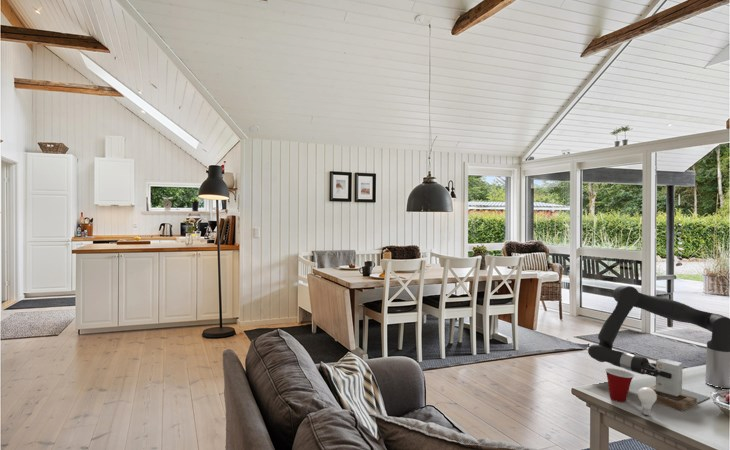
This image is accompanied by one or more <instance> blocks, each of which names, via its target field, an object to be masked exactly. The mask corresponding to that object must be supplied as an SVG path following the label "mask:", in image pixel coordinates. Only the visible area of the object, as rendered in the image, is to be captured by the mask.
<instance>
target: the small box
mask: <svg viewBox="0 0 730 450" xmlns="http://www.w3.org/2000/svg"><path fill="white" fill-rule="evenodd" d="M655 363H656V369H657V370H660V371H664V372H667V373H671V379H668V378H665V377H658V376H657V377H655V385H656V391H660V392H663V393H667V394H670V395H674V396H678V395H680V394H681V393H682V389H683V370H684V369H683V367H684V366H683V362H680V361H675V360H671V359H667V358H663V357H661V358H659V359H657V360H656V361H655Z"/></svg>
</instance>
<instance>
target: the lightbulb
mask: <svg viewBox="0 0 730 450" xmlns="http://www.w3.org/2000/svg"><path fill="white" fill-rule="evenodd" d="M657 395H658V394H657ZM657 395H656V393H655V391H654V390H653V389H651V388H650V387H649V386H648V387H647V386H642V387H640V388H639V389H638V391H637V398H638V399H639V401H640V403H641V406H642V414H643V413H644V414H646V415H649V416H651V413H652V411H651V409H652V408H653V405H654V404H655V403H656V400H657ZM644 414H643V415H644ZM646 415H645V416H646Z"/></svg>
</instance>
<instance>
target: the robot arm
mask: <svg viewBox="0 0 730 450" xmlns="http://www.w3.org/2000/svg"><path fill="white" fill-rule="evenodd" d="M612 297H613V299H614V300H615V301H616V306H615V308H614V309H613V311H612V312H611V314H610V315H609V316H608V317H607V319H606V320H605V321H604V323H603V325H601V326H602V327H601V329H600V331H599V333H598V335H597V339H598V340H599V343H598V344H591V345H590V346H588V349H587V353H588V355H589V356H590V357H591V358H592V359H594V360H595V361H596V362H598V363H605V362H606V363H608V364H610V365H613V366H615V367H619V368H621V369H625V371H626V370H627V371H628V372H629V371H630V372H633V373H636V374H640V375H647V376H651V377H654V378H656V377H657V376H658V377H665V378H668V379H671V373H667V372H664V371H660V370H657V369H656V362H651V363H650V362H649V359H648V358H647V357H644V356H640V355H637V354H632V353H628V352H624V351H621V350H615V349H613V347H614V343H615V340H616V338H617V336H618V334H619V331H620V329H621V328H622V325H623V324H624V322H625V320H626V318H627V317H628V315H629V314H630V312H631V311H632V309H633V308H638V309H641V310H643V311H646V312H649V313H652V314H654V315H656V316H660V317H663V318H664V319H668V320H671V321H675V322H679V323H686V324H691V325H695V326H698V327H700V328H702V329H705V330H707V331H709V332H710V333H711V339H710V340H707V342H706V353H705V355H706V357H705V358H706V359H705V360H706V361H705V375H704V376H705V379H704V381H705V382H706V383H709V384H712V385H714V386H718V387H722V388H729V389H730V317H727V316H724V315H723V314H718V313H713V312H708V311H703V310H701V309H696V308H695V307H692V306H690V305H688V304H685V303H682V302H680V301H676V300H673V299H671V298H666V297H661V296H656V295H649V294H645V293H641V292H639V290H638V289H637V288H635V287H634V286H631V285H620V286H618V287H616V288H615V289H614V290H613V293H612ZM705 382H704V383H705ZM706 383H705V384H706ZM722 388H721V389H722Z"/></svg>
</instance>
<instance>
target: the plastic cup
mask: <svg viewBox="0 0 730 450" xmlns="http://www.w3.org/2000/svg"><path fill="white" fill-rule="evenodd" d="M605 372H606V374H605V375H606V378H607V385H608V387H607V388H608V390H609V391H608V393H609V397H610V399H611V400H612V401H615V402H620V403H625V402H626V401H627V398H628V395H629V390H630V387H631V383H632V381H633V379H634V378H635V374H634V373H631V372H629V371H626V370H622V369H618V368H611V367H609V368H608V367H606V368H605Z"/></svg>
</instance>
